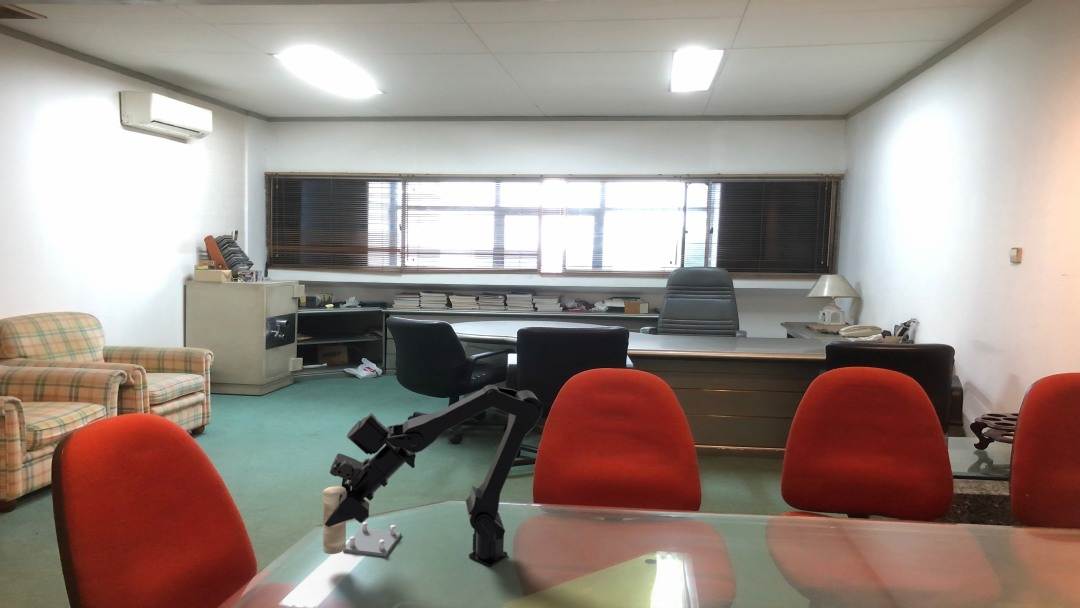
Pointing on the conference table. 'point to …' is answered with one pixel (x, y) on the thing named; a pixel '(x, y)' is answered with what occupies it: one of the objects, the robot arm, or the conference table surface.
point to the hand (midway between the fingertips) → (327, 519)
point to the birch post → (337, 533)
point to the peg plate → (373, 541)
